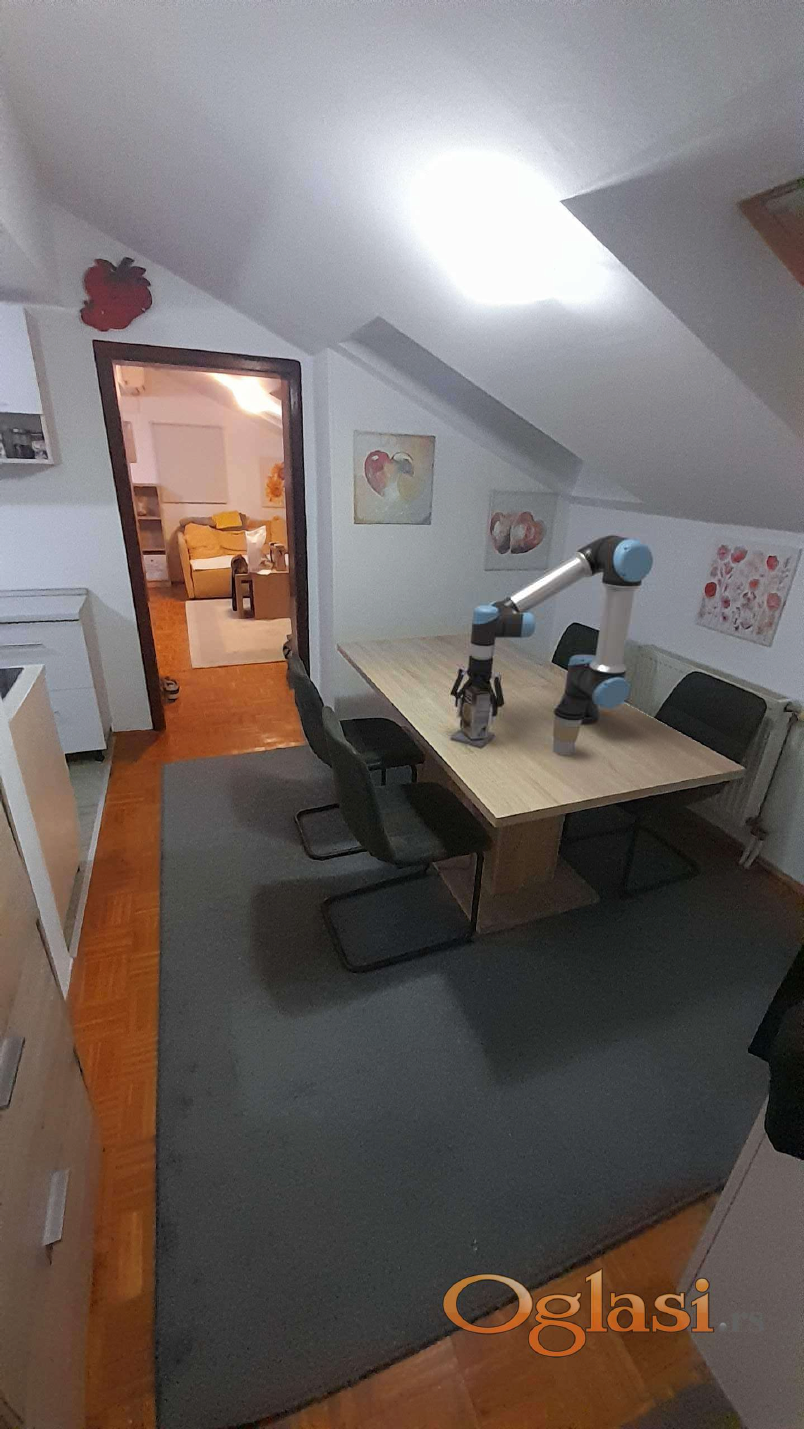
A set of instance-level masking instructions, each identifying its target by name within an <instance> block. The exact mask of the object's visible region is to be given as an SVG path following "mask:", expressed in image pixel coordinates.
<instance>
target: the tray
mask: <svg viewBox="0 0 804 1429" xmlns="http://www.w3.org/2000/svg"><path fill="white" fill-rule="evenodd" d="M494 738H495V733H493V732H489V731H488V737H484V738H476V739H471V738H470V737H469V736H468V735H467V734H466V733H465V732H463V731H462V730H461V729H460V728H459V730H458V731H456V732H455V733H454V734H453V735H452V736H450V740H451V741H453V742H456V743H461V744H465V745H468V746H470V747H475V748H479V749H483V748H484V747H485V746H486V745H488V743H489V742H490V741H491V740H493V739H494Z"/></svg>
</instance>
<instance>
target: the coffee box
mask: <svg viewBox="0 0 804 1429" xmlns="http://www.w3.org/2000/svg"><path fill="white" fill-rule="evenodd" d="M464 685H465V683H463V686H464ZM463 686H462V687H463ZM493 691H494V690H493ZM493 691H491V692H488V691H486V690H485V689H484V688H483V685H482V686H480V685H478V684H473V683H471V684H470V685H469V686H467V687H466V689H465V691H464V692H463V695H462V696H461V697H462V708H461V717H460V721H459V730H460V729H461V730H462V731H463V732H465V733H466V734H467V735H468V736H469V737H470V738H471V739H476V738H484V737H488V732H489V728H490V726H488V721H489V713H490V707H491V706H492V704H491V702H490V694H492V695H493Z"/></svg>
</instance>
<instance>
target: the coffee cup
mask: <svg viewBox="0 0 804 1429" xmlns="http://www.w3.org/2000/svg"><path fill="white" fill-rule="evenodd" d="M553 714H554V720H553V721H554V722H553V744H552V745H553V749H552V750H553V752H554V753H555V754H557V755H561V756H571V755H572V754H573V751H574V748H575V745H576V742H577V740H578V736H579V732H580V730H581V726H582V724H581V722H582V719H584V718H585V716H584V715H585V714H584V712H583V709H582V708H581V707H579V706H576V705H573V704H560V705H558V704H557V707H556V708H554V711H553Z"/></svg>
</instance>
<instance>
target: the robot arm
mask: <svg viewBox="0 0 804 1429" xmlns="http://www.w3.org/2000/svg"><path fill="white" fill-rule="evenodd" d="M653 557H654V556H653V553H652V551H651V549H650V548H649V546H648V545H647V544H645V543H644V542H641V541H640V540H637V539H633V538H629V537H624V536H619V535H615V534H611V535H605V536H602V537H600V538H597V539H596V540H593V541H591V542H589V543H588V544H586V545H585V546H583V547H581V548H579V549H578V550H577V551H575V552H574V553H573V556H572V557H571V558H569V559H568V560H566V561H564V562H563V563H561V564H560V565H558V566H556V567H555V568H553V569H551V570H550V571H548V572H547V573H545V574H544V575H542V576H540V577H538V578H537V579H535V580H533V581H532V582H530V583H529V584H527V585H525V586H524V587H522V588H520V589H519V590H517V591H516V592H514V593H513V594H511V595H509V596H508V597H507V598H504V599H503V600H501V601H500V600H494V601H491V602H490V603H489V604H488V605H478V606H476V607H475V608H474V610H473V614H472V619H471V635H470V643H469V644H470V645H469V653H468V654H469V655H468V656H469V657H468V663H467V664H468V667H467V668H466V667H465V666H462V667H460V668H459V669H458V671H457V677H456V679H455V681H454V684H453V687H452V688H451V690H450V695H451V696H453V697H454V698H455V703H454V707H455V708H457V709H456V718H457V719H459V718H461V708H462V697H463V692H464V691H465V689H466V687H467V686H469V685H470V684H471V683H473V684H478V685H480V686H482V685H483V688H484V689H485V690H486V691H488V692H491V691H493V695H492V694H490V702H491V704H492V706H491V707H490V713H489V721H488V726H489V727H491V726H492V725H494V722H495V717H497V715H498V710H499V708H501V707H503V706H504V705H505V699H504V694H503V690H502V689H503V688H502V685H501V680H502V676H501V674H498V675H496V674H493V671H492V670H493V663H494V658H493V657H494V655H495V654H494V653H495V644H496V639H505V638H507V639H509V638H510V639H511V638H512V639H513V638H516V639H517V638H520V639H522V638H530V637H532V636H533V634H534V633H535V629H536V620H535V616H534V615H533V613H529V611H531V610H533V609H534V608H536V607H539V605H541V604H543V603H544V602H546V601H547V600H549V599H551V598H552V597H554V596H556V595H557V594H559V593H560V592H562V591H564V590H566V589H567V588H568V587H570V586H572V585H574V584H575V583H577V582H578V581H580V580H582V579H585V578H588V579H590V578H592V577H593V576H595V575H596V574H600V573H602V579H601V580H602V581H601V584H602V585H603V586H604V587H605V593H604V598H603V599H604V600H603V604H602V606H603V607H602V610H601V611H602V613H601V619H600V627H599V632H598V639H597V645H596V652H595V655H594V654H574V655H573V656H571V657H570V659H569V662H568V664H567V665H568V667H567V674H566V679H565V686H564V692H563V695H562V697H561V699H560V701H559V702H558V704H557V706H558V705H560V704H573V705H576V706H579V707H581V708H582V709H583V712H584V714H585V715H584V716H585V718H584V719H582V722H581V725H591V724H594V723H597V722H598V721H599V718H600V709H599V707H601V708H603V709H607V710H609V709H613V708H616V707H618V706H620V705H621V704H622V703H624V702H625V701H626V699H627V698H628V697H629V694H630V691H631V687H630V684H629V682H628V681H627V679H626V672H627V667H626V666H625V664H624V663H623V662H624V661H623V660H624V654H625V650H626V649H625V648H626V644H627V637H628V634H629V626H630V620H631V614H632V608H633V602H634V596H635V591H636V590H637V589H638V588H640V587H642V586H641V585H642V580H644V579H645V578H646V577H647V575H649V574H650V572H651V570H652V568H653V564H654V563H653V562H654V561H653V560H654V559H653ZM466 674H467V676H468V680H466V682H465V683H464V684H465V685H464V686H462V687H461V688H460V686H461V684H462V681H463V679H464V678H465V676H466ZM491 679H492V683H493V685H494V686H493V687H494V689H493V687H492V683H491ZM459 688H460V690H459ZM494 691H495V692H494Z"/></svg>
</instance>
